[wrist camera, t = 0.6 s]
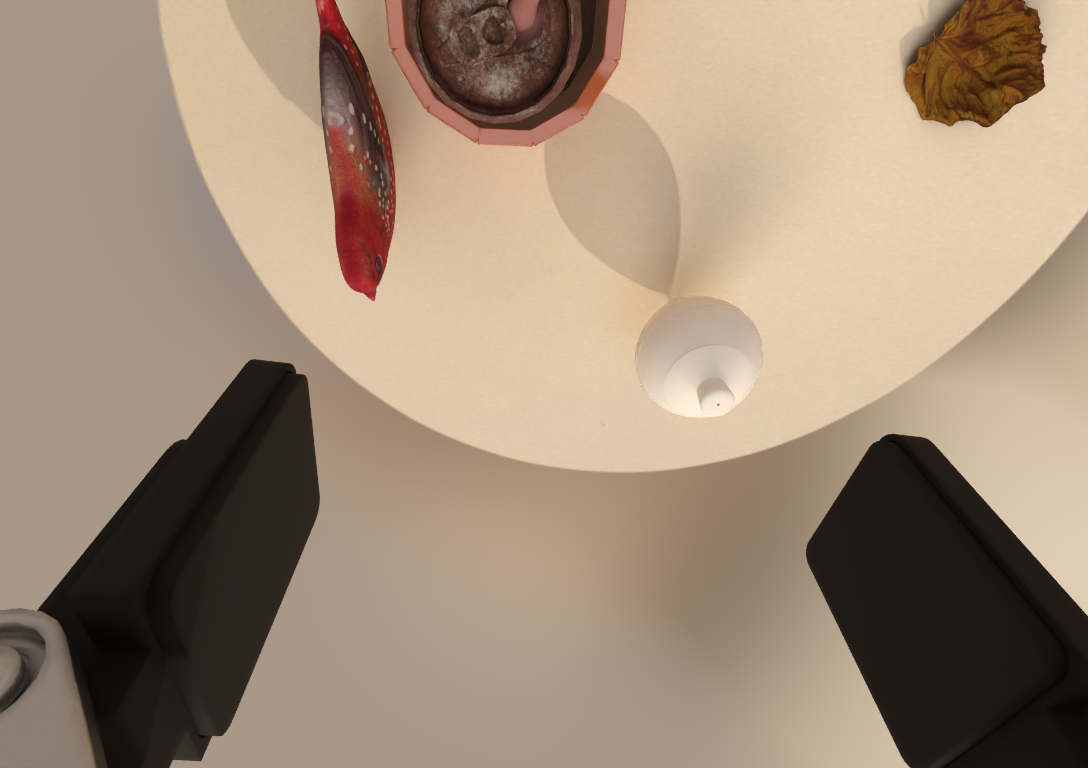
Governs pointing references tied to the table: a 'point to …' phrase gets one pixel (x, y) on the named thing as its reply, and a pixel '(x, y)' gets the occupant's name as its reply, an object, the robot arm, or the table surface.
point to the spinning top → (698, 356)
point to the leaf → (979, 64)
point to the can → (496, 53)
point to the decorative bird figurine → (355, 155)
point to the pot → (541, 124)
